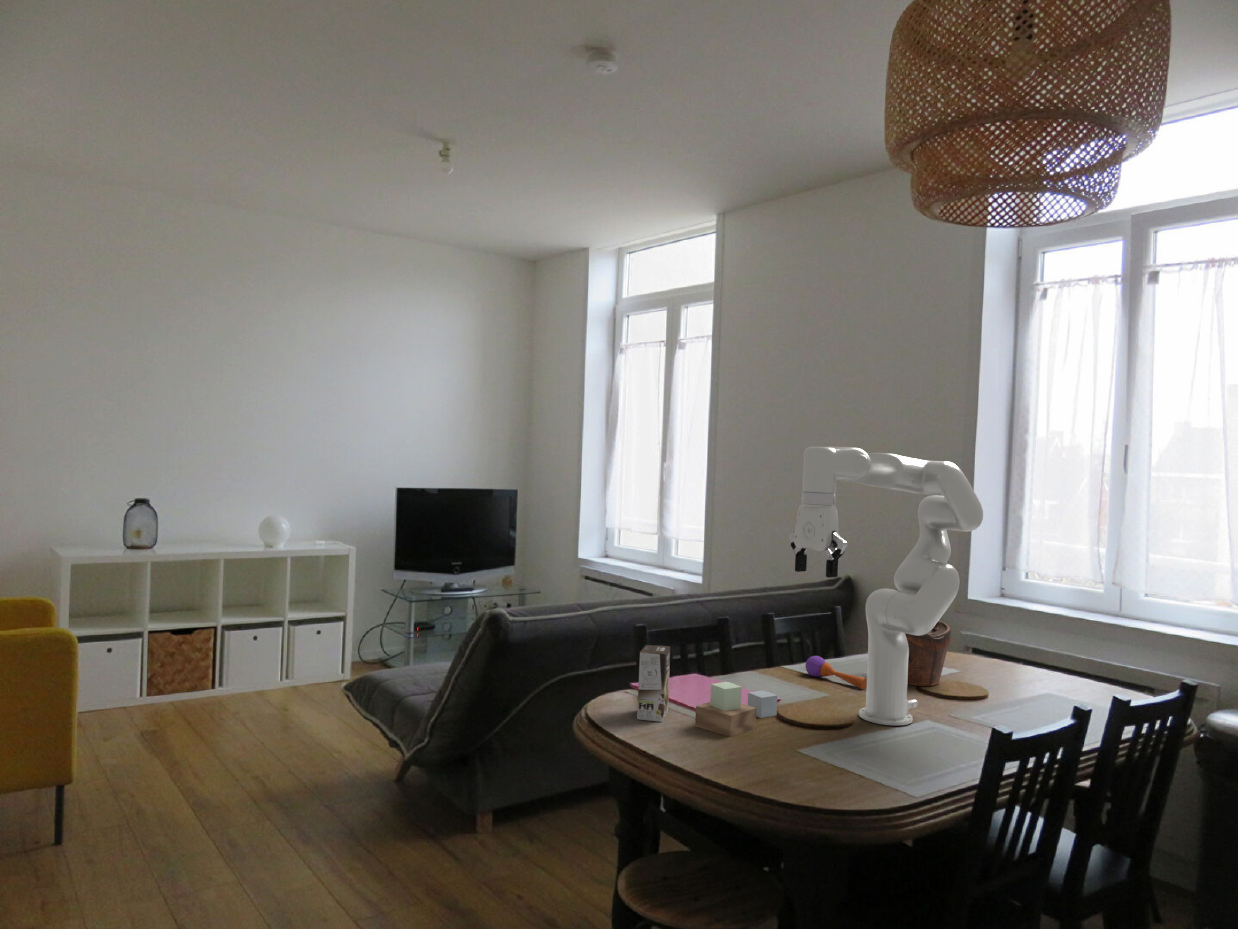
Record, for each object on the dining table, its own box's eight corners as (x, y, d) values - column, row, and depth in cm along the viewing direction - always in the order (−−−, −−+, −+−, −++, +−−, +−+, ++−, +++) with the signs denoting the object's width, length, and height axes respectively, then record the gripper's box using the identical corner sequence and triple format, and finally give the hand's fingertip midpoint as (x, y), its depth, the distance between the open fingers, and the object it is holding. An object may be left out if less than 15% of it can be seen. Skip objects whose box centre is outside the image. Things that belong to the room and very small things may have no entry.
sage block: (726, 702, 209) (727, 681, 209) (740, 708, 205) (741, 686, 205) (710, 705, 207) (711, 684, 207) (723, 711, 203) (724, 689, 202)
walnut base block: (721, 719, 213) (721, 698, 213) (755, 729, 206) (756, 707, 206) (695, 727, 206) (695, 706, 206) (730, 738, 199) (731, 716, 199)
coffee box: (663, 722, 208) (665, 653, 208) (636, 720, 209) (638, 651, 209) (669, 711, 217) (671, 645, 216) (643, 709, 218) (645, 643, 218)
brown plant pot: (957, 678, 260) (958, 617, 260) (941, 693, 243) (943, 628, 243) (895, 669, 270) (897, 610, 269) (876, 683, 253) (877, 620, 253)
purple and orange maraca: (857, 677, 242) (801, 656, 258) (858, 697, 243) (801, 676, 259) (871, 670, 246) (814, 650, 261) (871, 690, 247) (814, 669, 262)
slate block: (762, 710, 221) (763, 690, 221) (776, 715, 217) (777, 695, 217) (747, 712, 218) (748, 692, 218) (761, 718, 214) (762, 697, 214)
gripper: (780, 497, 210) (777, 570, 210) (835, 502, 196) (832, 580, 196) (803, 497, 214) (800, 568, 214) (858, 502, 200) (855, 578, 200)
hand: (815, 574), depth 205 cm, fingers open, 9 cm apart
